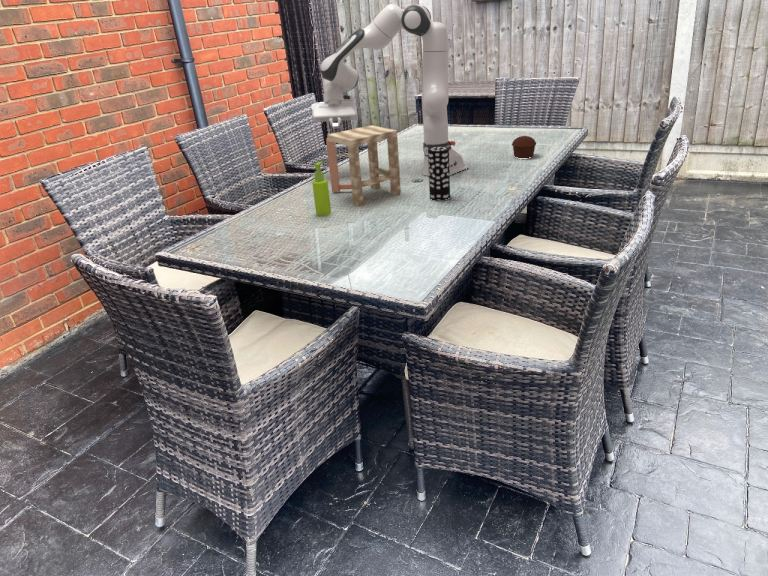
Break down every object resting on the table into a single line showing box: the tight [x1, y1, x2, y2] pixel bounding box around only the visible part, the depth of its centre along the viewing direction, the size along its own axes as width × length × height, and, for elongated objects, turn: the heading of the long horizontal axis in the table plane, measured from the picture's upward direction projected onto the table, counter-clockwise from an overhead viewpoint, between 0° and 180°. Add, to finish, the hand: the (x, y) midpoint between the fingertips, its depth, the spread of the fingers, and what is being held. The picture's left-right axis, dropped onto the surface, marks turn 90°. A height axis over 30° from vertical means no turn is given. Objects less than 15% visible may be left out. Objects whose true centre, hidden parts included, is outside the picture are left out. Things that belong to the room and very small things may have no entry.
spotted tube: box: [428, 146, 451, 201], centre depth 234 cm, size 8×8×20 cm
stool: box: [326, 125, 402, 207], centre depth 242 cm, size 22×18×26 cm
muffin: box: [511, 135, 537, 158], centre depth 284 cm, size 12×11×10 cm
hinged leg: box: [325, 137, 352, 193], centre depth 250 cm, size 13×3×23 cm, turn 81°
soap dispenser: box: [311, 161, 332, 217], centre depth 228 cm, size 6×7×20 cm
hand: (335, 127), depth 261 cm, fingers closed
